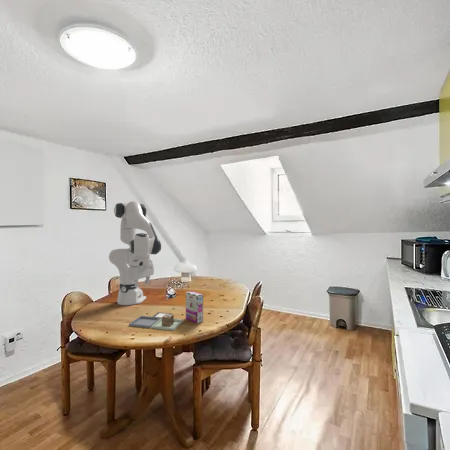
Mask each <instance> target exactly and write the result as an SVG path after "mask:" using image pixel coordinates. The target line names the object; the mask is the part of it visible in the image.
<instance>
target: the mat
mask: <svg viewBox="0 0 450 450" xmlns="http://www.w3.org/2000/svg"><path fill="white" fill-rule="evenodd" d="M165 314H169V315H173V313H170V312H159V311H158V312H157V313H155V314H154V315H151V317H160V318H162V317H163V316H164V315H165Z"/></svg>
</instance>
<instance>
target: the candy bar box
mask: <svg viewBox="0 0 450 450" xmlns="http://www.w3.org/2000/svg"><path fill="white" fill-rule="evenodd" d="M185 319H186V320H188V321H190V322H193V323H195V324H199V323H202V322H204V294H203V293H200V292H196V291H193V290H191V291H187V292H186V291H185Z"/></svg>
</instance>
